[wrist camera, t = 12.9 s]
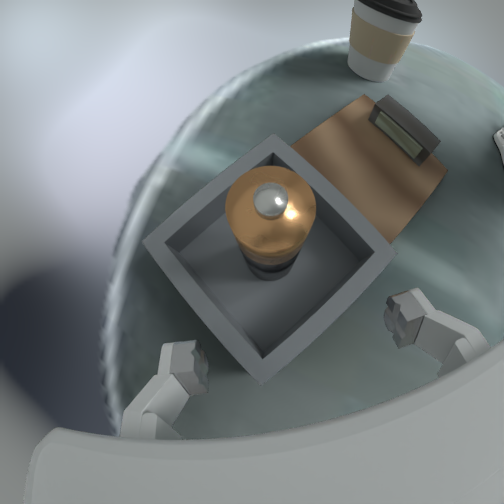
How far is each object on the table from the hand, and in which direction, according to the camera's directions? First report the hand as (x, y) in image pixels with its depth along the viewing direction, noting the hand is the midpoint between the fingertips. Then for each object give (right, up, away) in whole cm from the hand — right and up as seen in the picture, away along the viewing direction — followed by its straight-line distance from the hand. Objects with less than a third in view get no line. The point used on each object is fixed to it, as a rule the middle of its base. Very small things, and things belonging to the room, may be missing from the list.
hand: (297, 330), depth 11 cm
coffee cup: (+16, +31, +20) cm, 40 cm away
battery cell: (0, +3, +14) cm, 14 cm away
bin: (0, +3, +15) cm, 15 cm away
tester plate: (+12, +13, +16) cm, 24 cm away
